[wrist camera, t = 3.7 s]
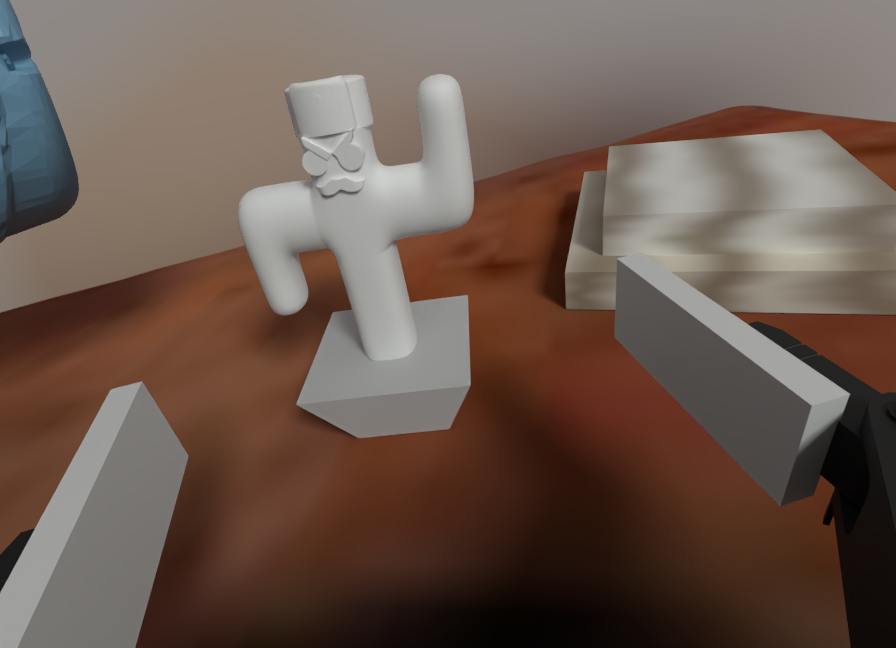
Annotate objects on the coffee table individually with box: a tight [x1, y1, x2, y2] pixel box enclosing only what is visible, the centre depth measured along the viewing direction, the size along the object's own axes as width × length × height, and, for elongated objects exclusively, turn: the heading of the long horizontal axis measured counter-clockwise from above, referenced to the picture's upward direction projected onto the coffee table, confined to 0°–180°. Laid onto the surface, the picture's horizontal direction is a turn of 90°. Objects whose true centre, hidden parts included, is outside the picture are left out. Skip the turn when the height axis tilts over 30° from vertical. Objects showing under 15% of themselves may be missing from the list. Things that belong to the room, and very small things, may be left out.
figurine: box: [238, 74, 474, 438], centre depth 21 cm, size 7×9×15 cm
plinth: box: [565, 130, 896, 315], centre depth 33 cm, size 18×18×5 cm
